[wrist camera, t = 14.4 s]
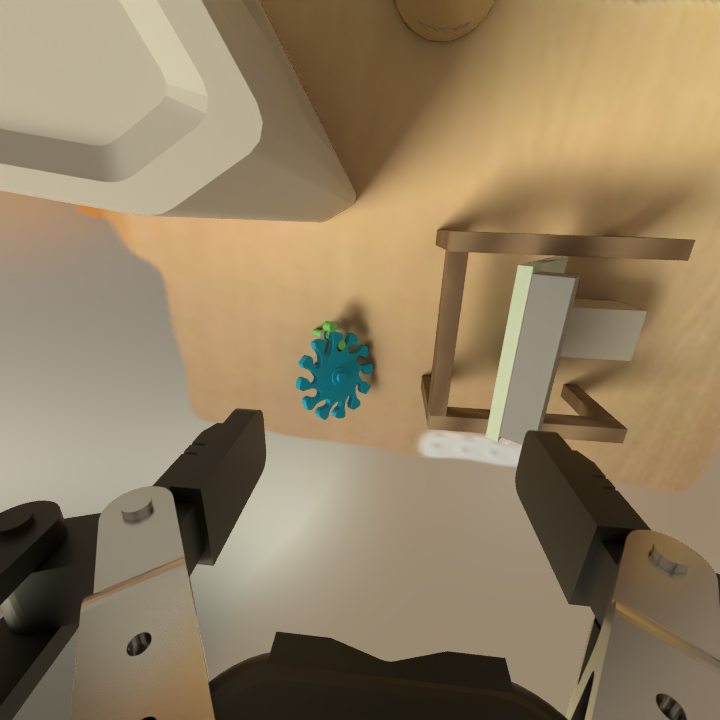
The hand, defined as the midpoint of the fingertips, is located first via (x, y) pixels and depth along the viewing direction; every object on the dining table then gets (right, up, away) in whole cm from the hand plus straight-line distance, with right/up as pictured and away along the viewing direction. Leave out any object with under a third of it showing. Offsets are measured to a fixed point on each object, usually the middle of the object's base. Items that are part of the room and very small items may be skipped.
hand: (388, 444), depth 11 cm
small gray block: (+23, +6, +26) cm, 35 cm away
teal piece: (-3, +3, +32) cm, 32 cm away
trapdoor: (+14, +5, +21) cm, 26 cm away
